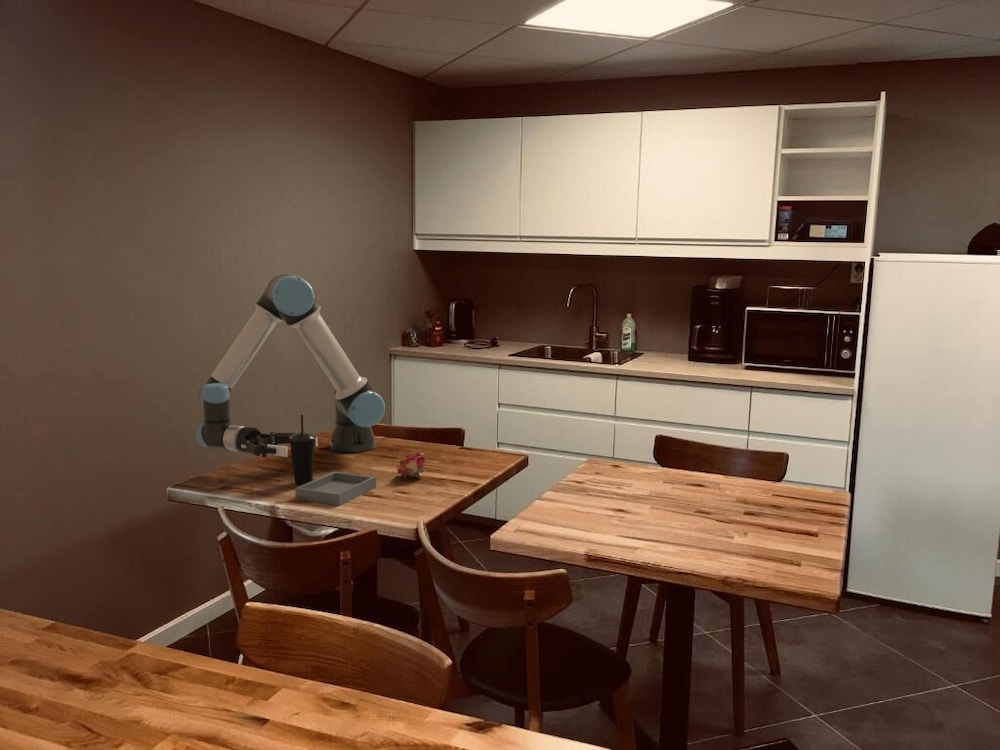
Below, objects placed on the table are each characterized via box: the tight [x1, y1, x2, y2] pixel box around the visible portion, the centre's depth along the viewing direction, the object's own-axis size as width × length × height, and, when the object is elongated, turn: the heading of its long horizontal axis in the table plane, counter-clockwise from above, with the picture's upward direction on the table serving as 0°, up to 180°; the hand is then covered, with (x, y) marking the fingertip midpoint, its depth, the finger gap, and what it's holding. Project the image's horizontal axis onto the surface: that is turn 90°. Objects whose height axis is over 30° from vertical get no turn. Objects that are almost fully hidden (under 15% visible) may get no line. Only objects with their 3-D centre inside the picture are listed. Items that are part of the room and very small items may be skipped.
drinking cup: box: [289, 414, 317, 486], centre depth 227 cm, size 8×8×20 cm
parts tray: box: [294, 471, 377, 506], centre depth 219 cm, size 18×14×3 cm
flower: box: [396, 451, 427, 480], centre depth 234 cm, size 10×9×8 cm
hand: (302, 446), depth 226 cm, fingers open, 13 cm apart
